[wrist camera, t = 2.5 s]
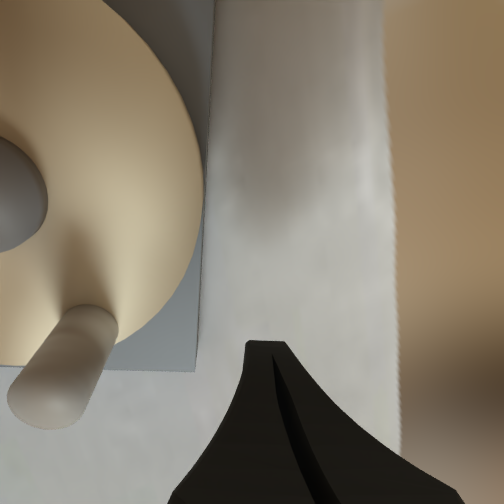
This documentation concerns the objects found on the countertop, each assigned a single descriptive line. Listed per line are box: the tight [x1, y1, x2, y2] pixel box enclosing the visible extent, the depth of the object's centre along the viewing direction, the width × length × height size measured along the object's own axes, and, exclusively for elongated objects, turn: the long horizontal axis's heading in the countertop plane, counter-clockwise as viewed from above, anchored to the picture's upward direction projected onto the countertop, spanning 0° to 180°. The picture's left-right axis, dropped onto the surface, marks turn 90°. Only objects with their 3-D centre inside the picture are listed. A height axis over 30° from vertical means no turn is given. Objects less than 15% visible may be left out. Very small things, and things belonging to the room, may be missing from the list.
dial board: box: [0, 0, 215, 372], centre depth 13 cm, size 14×16×3 cm
